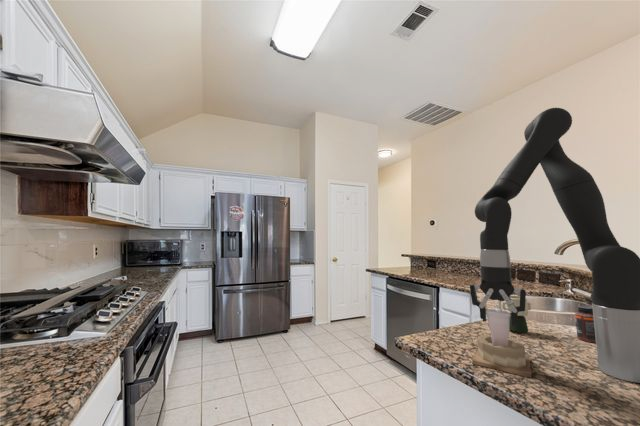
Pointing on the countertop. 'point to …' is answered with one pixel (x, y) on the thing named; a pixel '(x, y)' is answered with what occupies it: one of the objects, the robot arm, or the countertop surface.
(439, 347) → the countertop surface
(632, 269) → the robot arm
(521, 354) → the bottle holder
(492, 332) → the smoothie
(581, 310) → the supplement bottle
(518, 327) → the character mug
